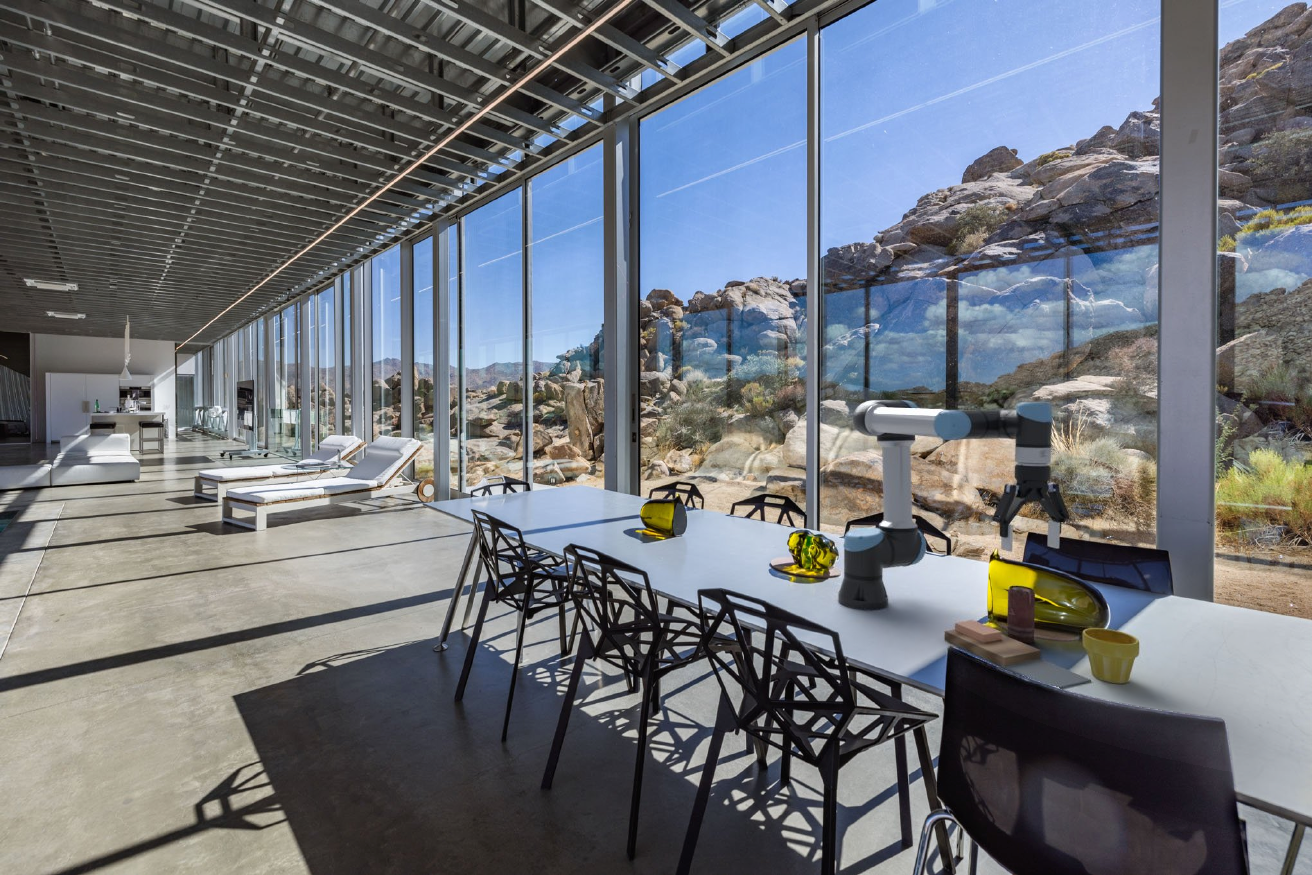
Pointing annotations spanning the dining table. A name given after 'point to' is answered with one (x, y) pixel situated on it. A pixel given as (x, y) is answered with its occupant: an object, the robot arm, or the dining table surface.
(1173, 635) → the dining table surface
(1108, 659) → the plant pot
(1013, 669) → the mat
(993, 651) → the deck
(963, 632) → the tile
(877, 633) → the dining table surface
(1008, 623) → the can
